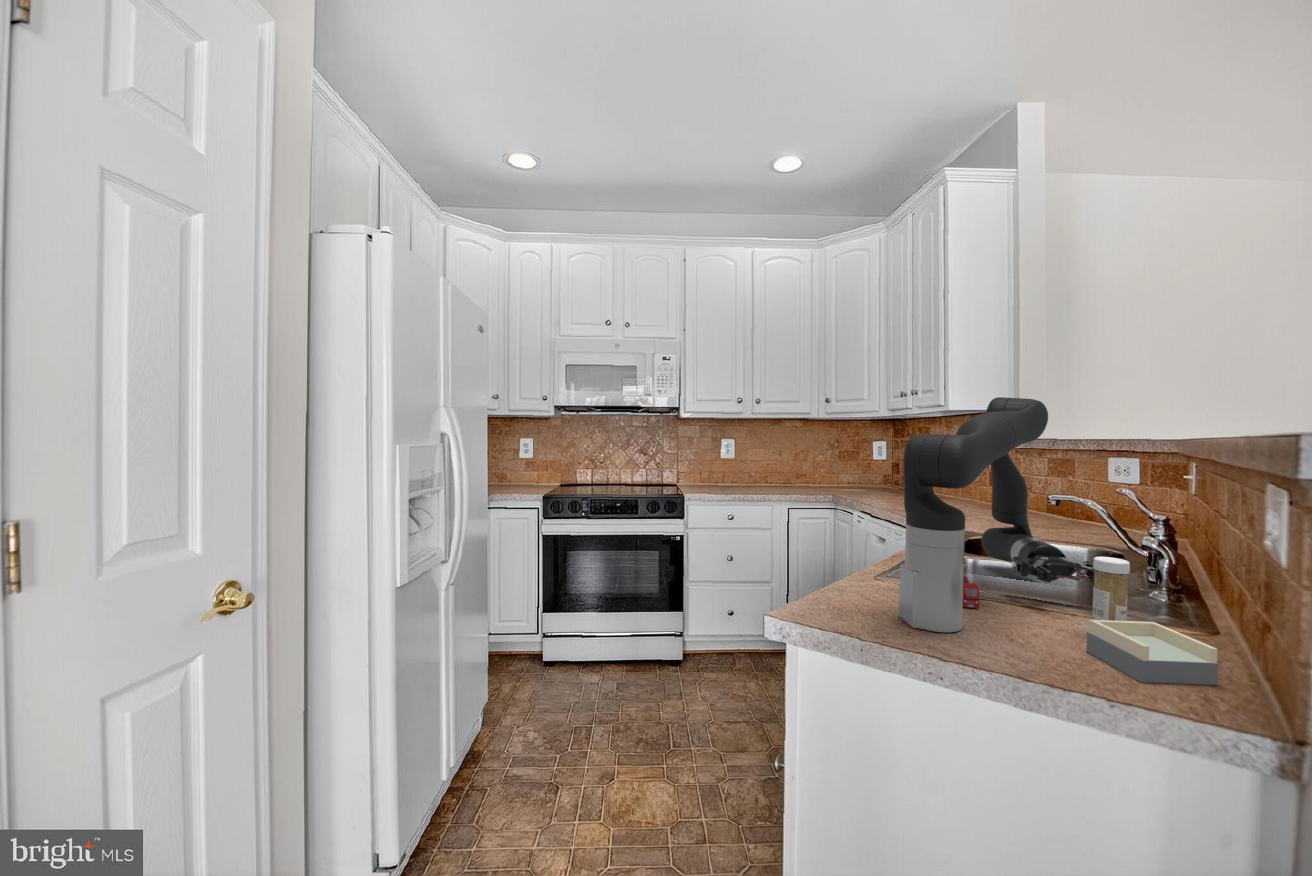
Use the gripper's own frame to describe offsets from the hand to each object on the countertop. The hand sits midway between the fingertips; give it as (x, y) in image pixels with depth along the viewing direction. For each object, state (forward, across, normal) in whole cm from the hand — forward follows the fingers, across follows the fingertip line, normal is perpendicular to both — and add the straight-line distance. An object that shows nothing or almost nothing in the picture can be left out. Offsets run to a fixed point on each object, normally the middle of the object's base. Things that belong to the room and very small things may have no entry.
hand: (1076, 579), depth 99 cm
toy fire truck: (-6, -18, +7) cm, 20 cm away
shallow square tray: (+21, 0, +7) cm, 22 cm away
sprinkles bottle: (+11, 0, +7) cm, 13 cm away
